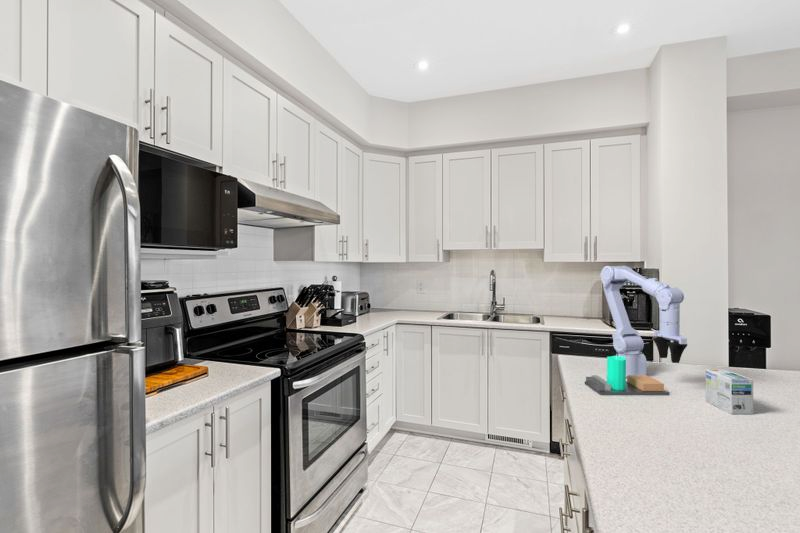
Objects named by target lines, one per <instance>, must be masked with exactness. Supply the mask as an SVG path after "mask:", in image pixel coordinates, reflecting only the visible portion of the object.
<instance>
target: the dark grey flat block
mask: <svg viewBox="0 0 800 533" xmlns="http://www.w3.org/2000/svg"><path fill="white" fill-rule="evenodd" d="M584 385H585V386H587V387H588V388H590V389H591V390H592V391H594V392H596V393H597V394H598V395H599V396H670V392H669V391H667V390H666V389H664V391H642V390H641V389H639V388H637V387H635V386H634V385H632V384H630V383H628V382H627V380H626V389H625V390H616V389H611V384H610V383H608V382H607V380H606V379H604V378H602V377H601V376H598V375H591V376H585V381H584Z"/></svg>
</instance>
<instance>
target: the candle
mask: <svg viewBox="0 0 800 533" xmlns="http://www.w3.org/2000/svg"><path fill="white" fill-rule="evenodd" d="M606 381H607V382H608V383H610V384H611V389H616V390H625V389H626V381H627V378H626V358H625V357H621V356H618V352H616V354H615V355H612V356H609V355H608V356H607V357H606Z"/></svg>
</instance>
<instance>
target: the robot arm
mask: <svg viewBox="0 0 800 533" xmlns="http://www.w3.org/2000/svg"><path fill="white" fill-rule="evenodd" d="M599 277H600V279H601V282H602V285H603V286H602V288H603V293H604V295H605V299H606V302H607V305H608V308H609V311H610V314H611V318H612V321H613V324H614V327H615V331H614V332H613V333H612V334H611V335H612V336H611V337H612V341H613V342H612V345H613V349H614V350H615V351H616V353H617V356H621V357H625V358H626V379H627V375H647V365H648V364H647V358H646V356H645V354H644V353H642V352H641V351H643V349H644V345H645V343H644V340H643V339H642V337H641V335H640V334H639V332H638V330H637V329H635V328H633V327H632V325H631V322H630V319H629V316H628V313H627V310H626V308H625V305H624V301H623V298H622V296H621V292H620V289H621V288H622V287H623V286H624V285H625V284H626V283H627V282H628V281H629V282H631V283H633V284H635V285H638V286H640V287H641V290H642V291H643V292H644V293H646V294H648V295H649V296H651V297H653V298H655V299H656V301H657V303H658V308H659V330H654V331H653V336H655V337H653V338H652V341H653V342H654V344H655V346H656V348H657V351H658V355H659V358H660V359H667V358H668V354H669V351H670V359H671V361H670V362H672V363H673V364H679V363H680V361H681V358H682V355H683V353H684V351H685V350H686V348H687V347H688V342H687V341H688V339H687V337H683V336H682V335H680V325H681V324H680V318H681V317H680V316H681V314H680V313H681V312H680V311H681V309H680V306H681V304H682V303H683V301H684V300H685V294H684V292H683V290H682V289H680V288H679V287H671V286H670V284H668V283H663V282H661V281H659V278H657V277H653V278H652V277H649V278H646V277H644V276H643V275H641V274H640V273H639V272H636V271H635V270H633V268H632V267H630V266H628V265H616V266H615V265H614V266H612V265H606V266H604V267H602V269H601V271H600V274H599Z"/></svg>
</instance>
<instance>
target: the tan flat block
mask: <svg viewBox="0 0 800 533" xmlns="http://www.w3.org/2000/svg"><path fill="white" fill-rule="evenodd" d="M626 381H627V382H628V383H630V384H632V385H634V386H635V387H637V388H639V389H641V390H642V391H664V390H665V383H663V382H661V381H659V380H658V379H656V378H653V377H652V376H649V375H647V374H646V375H627V378H626Z"/></svg>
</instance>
